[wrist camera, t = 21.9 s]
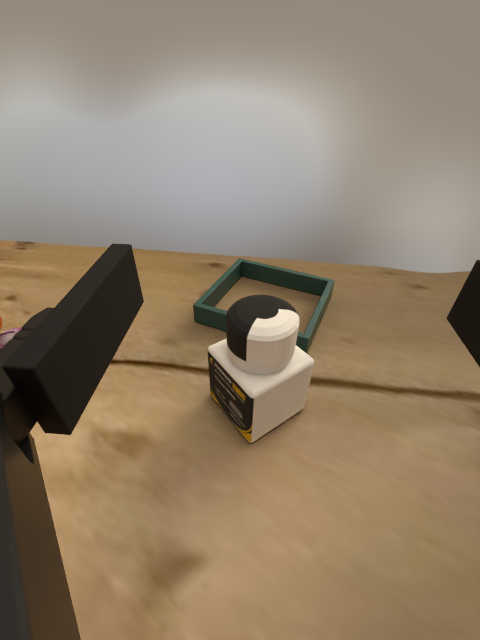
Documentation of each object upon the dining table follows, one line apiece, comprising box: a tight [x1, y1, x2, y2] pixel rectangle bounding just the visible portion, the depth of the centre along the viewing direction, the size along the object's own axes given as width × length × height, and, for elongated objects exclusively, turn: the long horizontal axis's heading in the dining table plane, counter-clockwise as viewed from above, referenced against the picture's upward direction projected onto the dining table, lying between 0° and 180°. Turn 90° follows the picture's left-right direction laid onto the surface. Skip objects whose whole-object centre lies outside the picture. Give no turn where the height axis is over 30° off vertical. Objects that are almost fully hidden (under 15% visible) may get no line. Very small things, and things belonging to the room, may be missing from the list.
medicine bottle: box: [208, 295, 314, 443], centre depth 30 cm, size 7×7×12 cm
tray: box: [193, 258, 335, 354], centre depth 46 cm, size 16×15×3 cm
